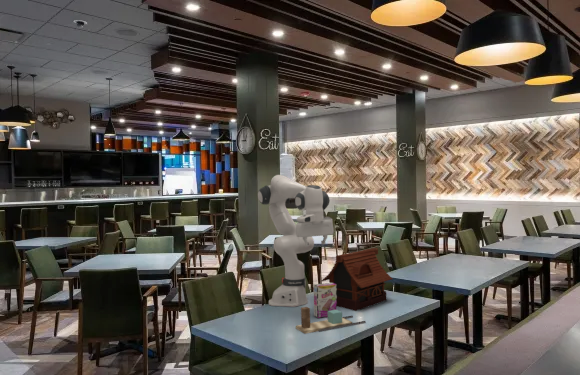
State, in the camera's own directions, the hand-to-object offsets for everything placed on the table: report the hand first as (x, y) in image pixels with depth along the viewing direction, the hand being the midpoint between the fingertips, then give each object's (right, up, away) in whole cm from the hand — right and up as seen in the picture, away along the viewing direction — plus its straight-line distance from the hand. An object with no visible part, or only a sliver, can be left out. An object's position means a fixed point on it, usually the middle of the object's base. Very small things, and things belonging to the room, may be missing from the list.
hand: (315, 245), depth 227 cm
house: (+26, -37, +31) cm, 55 cm away
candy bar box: (+6, -37, +5) cm, 38 cm away
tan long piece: (+4, -37, -12) cm, 39 cm away
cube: (+9, -36, -9) cm, 38 cm away
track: (+10, -37, -9) cm, 39 cm away
